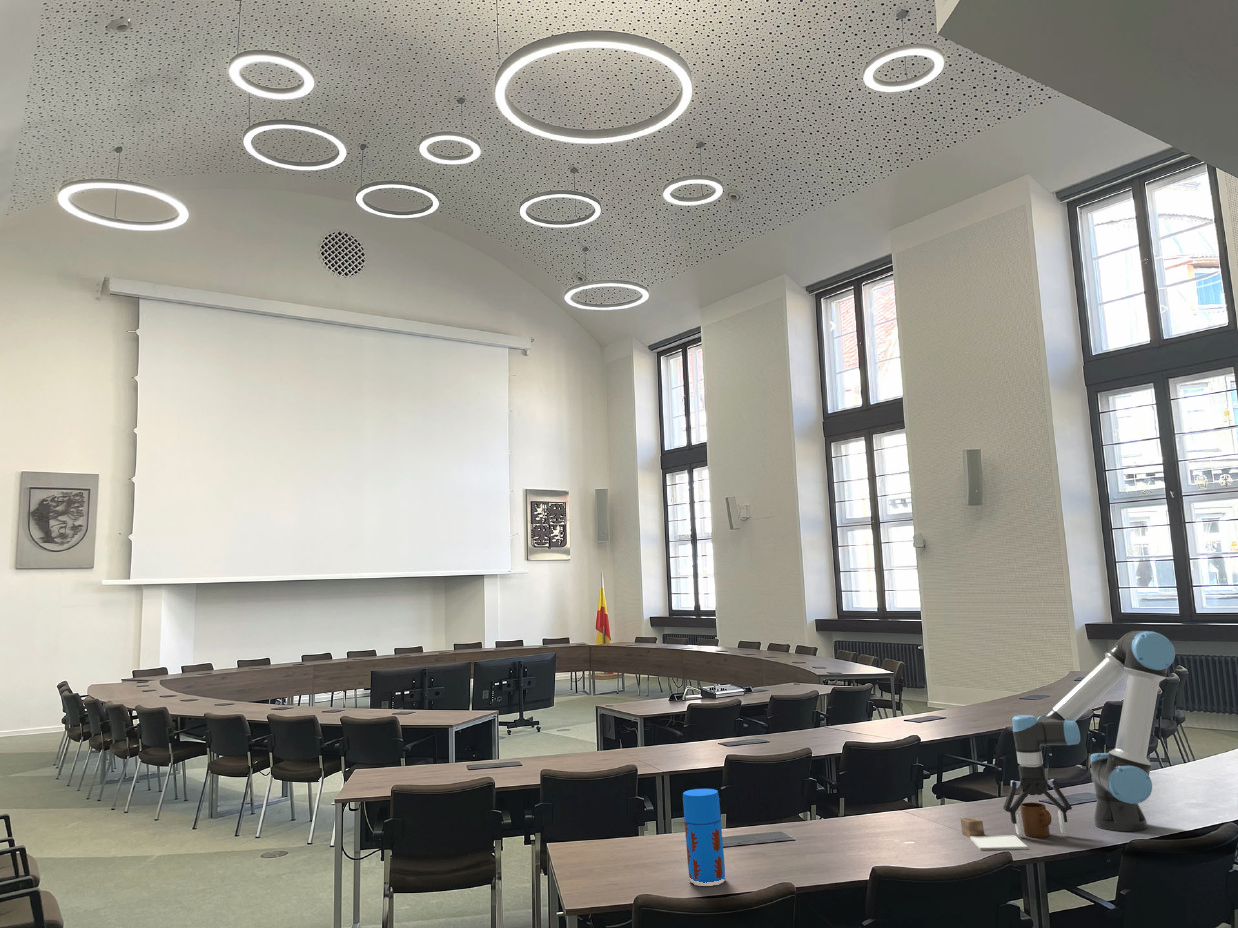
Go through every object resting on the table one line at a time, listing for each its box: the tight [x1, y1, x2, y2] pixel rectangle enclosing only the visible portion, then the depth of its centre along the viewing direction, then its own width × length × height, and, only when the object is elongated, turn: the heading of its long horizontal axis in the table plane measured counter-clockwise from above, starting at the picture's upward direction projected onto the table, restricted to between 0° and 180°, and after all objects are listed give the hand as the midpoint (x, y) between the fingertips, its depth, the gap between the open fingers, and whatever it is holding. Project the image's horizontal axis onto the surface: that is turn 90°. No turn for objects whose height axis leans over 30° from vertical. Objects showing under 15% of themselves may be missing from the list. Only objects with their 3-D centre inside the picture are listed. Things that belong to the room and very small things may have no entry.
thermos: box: [682, 788, 726, 883], centre depth 250 cm, size 11×11×25 cm
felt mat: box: [969, 834, 1029, 851], centre depth 266 cm, size 14×14×1 cm
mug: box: [1020, 801, 1052, 839], centre depth 271 cm, size 12×8×9 cm, turn 9°
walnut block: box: [960, 817, 985, 839], centre depth 277 cm, size 5×5×5 cm
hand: (1041, 833), depth 270 cm, fingers open, 13 cm apart
